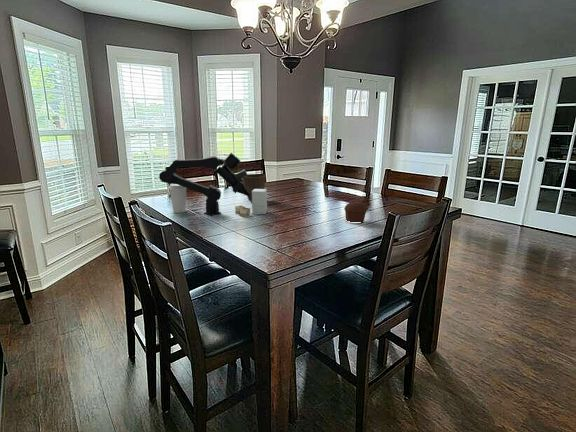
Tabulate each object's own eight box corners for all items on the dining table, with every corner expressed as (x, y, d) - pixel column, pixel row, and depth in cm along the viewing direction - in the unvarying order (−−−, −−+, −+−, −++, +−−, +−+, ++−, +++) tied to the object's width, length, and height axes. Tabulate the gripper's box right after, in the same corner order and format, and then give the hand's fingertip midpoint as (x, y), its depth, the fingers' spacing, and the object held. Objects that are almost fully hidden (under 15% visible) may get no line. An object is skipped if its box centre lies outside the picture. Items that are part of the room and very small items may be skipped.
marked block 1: (239, 215, 182) (238, 207, 180) (235, 213, 185) (235, 206, 184) (245, 214, 184) (245, 206, 183) (241, 212, 187) (241, 205, 186)
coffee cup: (166, 212, 185) (164, 184, 181) (179, 208, 193) (177, 182, 189) (179, 214, 181) (177, 186, 177) (192, 210, 189) (190, 183, 185)
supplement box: (267, 211, 190) (267, 188, 187) (265, 214, 183) (265, 191, 180) (254, 210, 191) (254, 188, 188) (251, 214, 184) (251, 191, 181)
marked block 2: (246, 217, 177) (246, 209, 176) (240, 216, 179) (239, 208, 178) (250, 215, 181) (250, 207, 180) (243, 214, 183) (243, 207, 181)
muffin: (349, 225, 166) (350, 205, 163) (339, 219, 176) (340, 200, 173) (370, 223, 169) (372, 204, 166) (360, 218, 179) (361, 199, 177)
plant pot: (238, 201, 212) (238, 176, 208) (248, 197, 226) (247, 173, 222) (260, 203, 208) (260, 177, 204) (269, 198, 222) (269, 174, 218)
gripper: (238, 166, 170) (260, 187, 174) (237, 162, 187) (258, 182, 192) (223, 182, 170) (245, 203, 175) (223, 176, 188) (244, 196, 193)
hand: (249, 195), depth 184 cm, fingers closed
